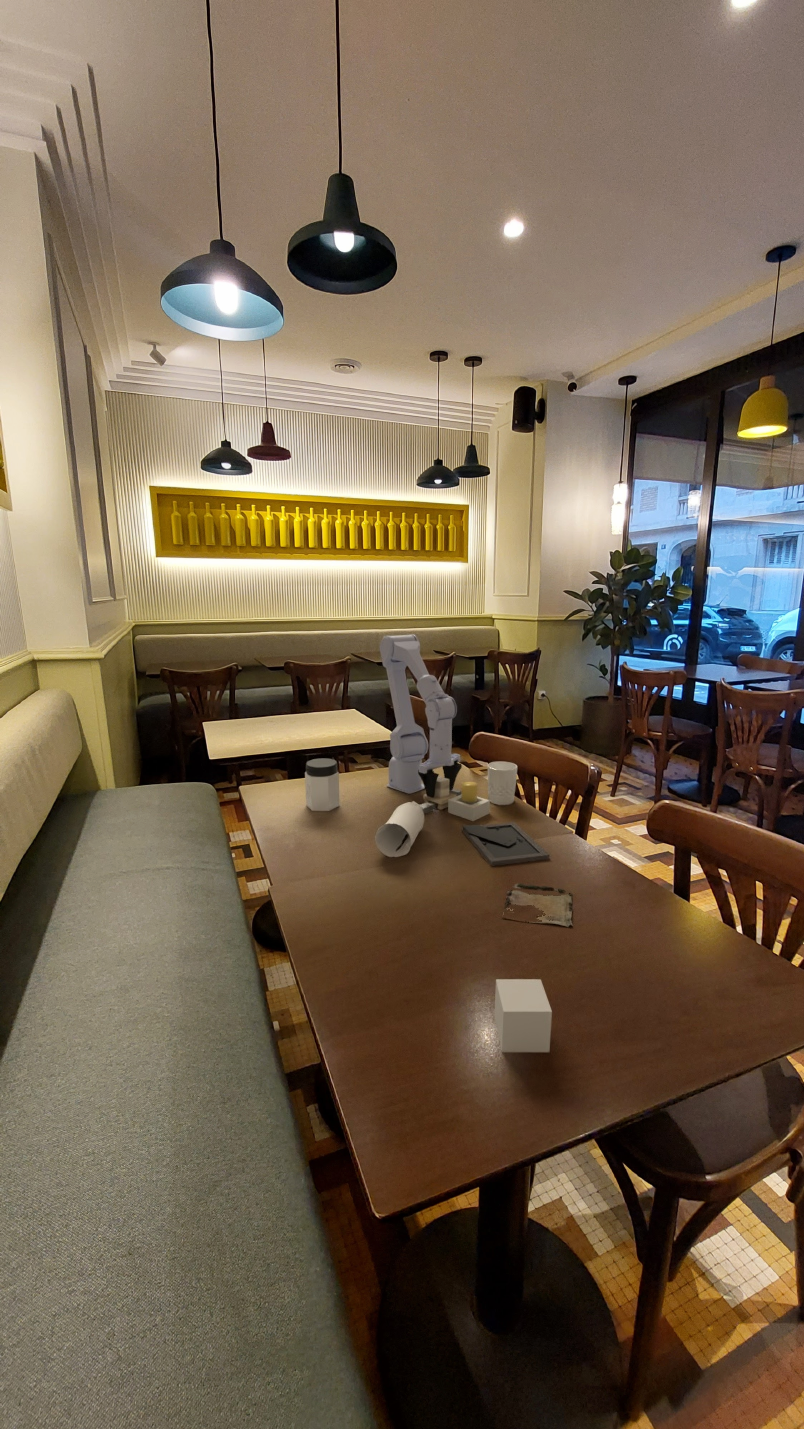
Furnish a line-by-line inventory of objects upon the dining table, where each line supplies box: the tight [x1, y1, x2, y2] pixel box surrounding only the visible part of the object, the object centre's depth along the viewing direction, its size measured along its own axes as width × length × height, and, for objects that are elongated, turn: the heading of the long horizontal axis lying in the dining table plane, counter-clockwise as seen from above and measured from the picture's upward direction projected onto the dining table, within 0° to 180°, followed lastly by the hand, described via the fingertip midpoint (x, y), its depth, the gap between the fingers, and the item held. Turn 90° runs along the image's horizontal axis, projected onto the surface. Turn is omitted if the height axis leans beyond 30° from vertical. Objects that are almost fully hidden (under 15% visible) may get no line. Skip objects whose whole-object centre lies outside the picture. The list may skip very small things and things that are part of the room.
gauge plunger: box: [461, 781, 478, 802], centre depth 147 cm, size 4×4×4 cm
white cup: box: [487, 761, 518, 806], centre depth 156 cm, size 8×8×10 cm
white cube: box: [494, 978, 553, 1053], centre depth 75 cm, size 6×6×6 cm
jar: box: [304, 757, 341, 812], centre depth 152 cm, size 9×8×12 cm
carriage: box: [422, 776, 456, 811], centre depth 153 cm, size 6×6×7 cm
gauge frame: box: [447, 795, 491, 822], centre depth 148 cm, size 8×7×4 cm
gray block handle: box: [419, 788, 462, 815], centre depth 151 cm, size 4×20×2 cm, turn 136°
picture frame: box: [461, 821, 550, 867], centre depth 130 cm, size 13×2×18 cm
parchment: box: [502, 883, 574, 928], centre depth 106 cm, size 12×13×1 cm
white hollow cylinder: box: [374, 800, 425, 858], centre depth 132 cm, size 8×19×8 cm, turn 163°
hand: (439, 792), depth 153 cm, fingers open, 7 cm apart
